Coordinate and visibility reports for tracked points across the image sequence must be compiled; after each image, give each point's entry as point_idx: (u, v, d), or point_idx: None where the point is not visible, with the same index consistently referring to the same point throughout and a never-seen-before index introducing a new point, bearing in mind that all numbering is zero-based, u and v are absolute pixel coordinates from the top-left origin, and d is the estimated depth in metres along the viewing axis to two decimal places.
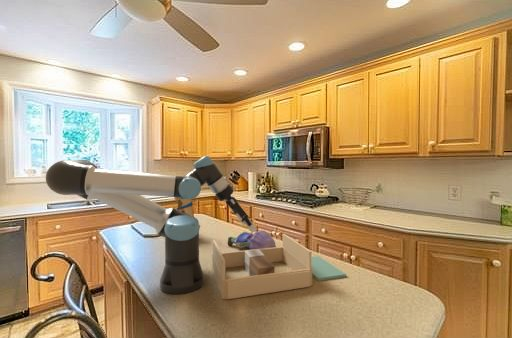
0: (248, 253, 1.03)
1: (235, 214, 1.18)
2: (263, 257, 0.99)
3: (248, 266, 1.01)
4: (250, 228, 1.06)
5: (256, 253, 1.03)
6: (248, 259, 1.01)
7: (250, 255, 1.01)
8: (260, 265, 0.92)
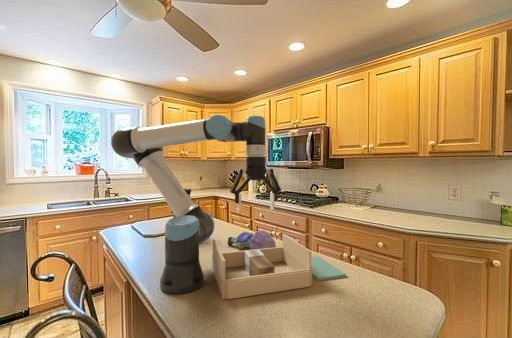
0: (248, 253, 1.03)
1: None
2: (263, 257, 0.99)
3: (248, 266, 1.01)
4: None
5: (256, 253, 1.03)
6: (248, 259, 1.01)
7: (250, 255, 1.01)
8: (260, 265, 0.92)
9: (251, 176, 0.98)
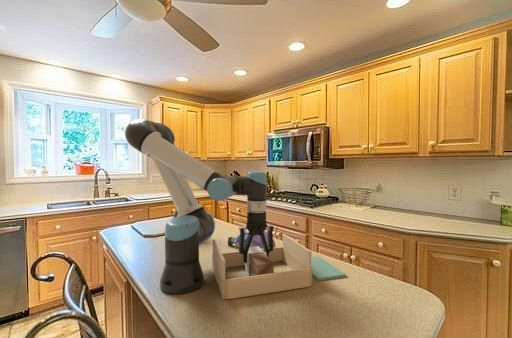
0: None
1: None
2: (262, 254, 0.99)
3: None
4: None
5: (255, 250, 1.03)
6: None
7: (249, 251, 1.01)
8: (259, 261, 0.92)
9: (253, 233, 0.98)
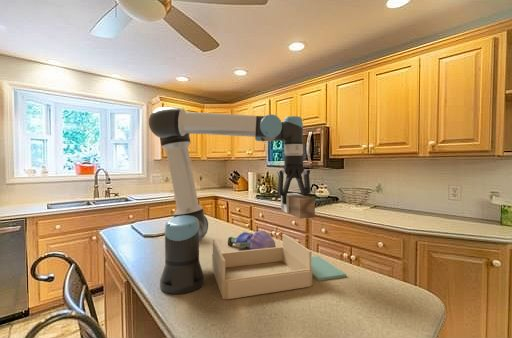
0: None
1: None
2: (301, 195, 1.03)
3: None
4: (284, 207, 1.05)
5: (293, 194, 1.07)
6: None
7: (288, 194, 1.05)
8: (301, 198, 0.96)
9: (291, 175, 1.03)
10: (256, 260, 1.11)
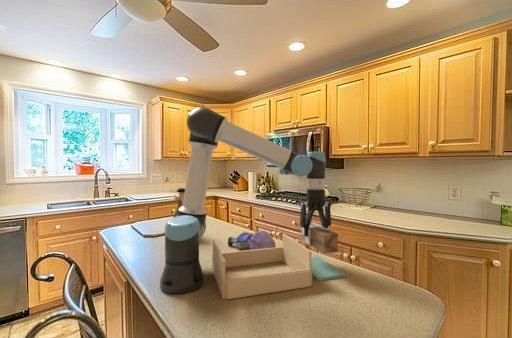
0: None
1: None
2: (322, 228, 1.07)
3: None
4: (306, 238, 1.08)
5: (314, 225, 1.11)
6: None
7: (309, 226, 1.08)
8: (324, 233, 0.99)
9: (314, 208, 1.06)
10: (256, 260, 1.11)
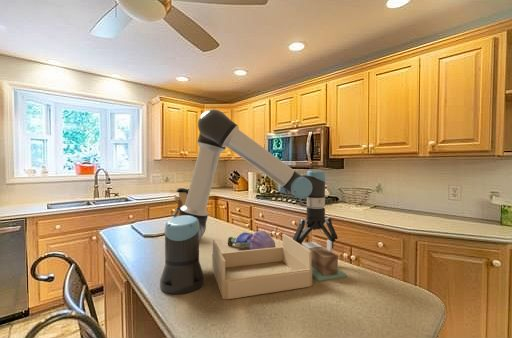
0: (306, 245, 1.11)
1: None
2: (322, 248, 1.07)
3: None
4: None
5: (313, 245, 1.11)
6: None
7: (309, 246, 1.09)
8: (324, 254, 0.99)
9: (312, 226, 1.06)
10: (256, 260, 1.11)
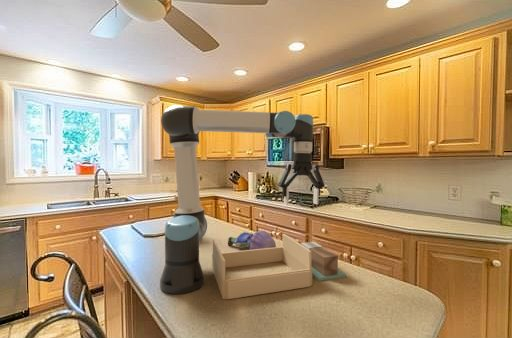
0: (306, 245, 1.11)
1: (314, 188, 1.10)
2: (322, 248, 1.07)
3: None
4: (284, 199, 1.05)
5: (313, 245, 1.11)
6: None
7: (309, 246, 1.09)
8: (324, 254, 0.99)
9: (299, 171, 1.04)
10: (256, 260, 1.11)
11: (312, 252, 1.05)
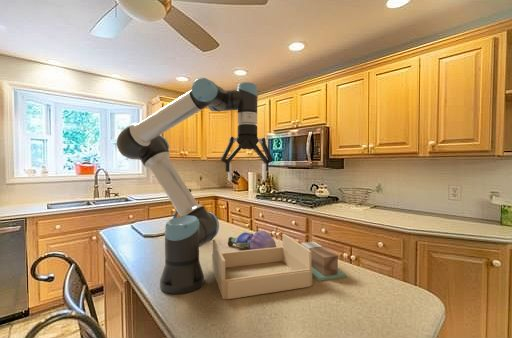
0: (306, 245, 1.11)
1: None
2: (322, 248, 1.07)
3: None
4: (228, 175, 0.97)
5: (313, 245, 1.11)
6: None
7: (309, 246, 1.09)
8: (324, 254, 0.99)
9: (242, 144, 0.96)
10: (256, 260, 1.11)
11: (312, 252, 1.05)
